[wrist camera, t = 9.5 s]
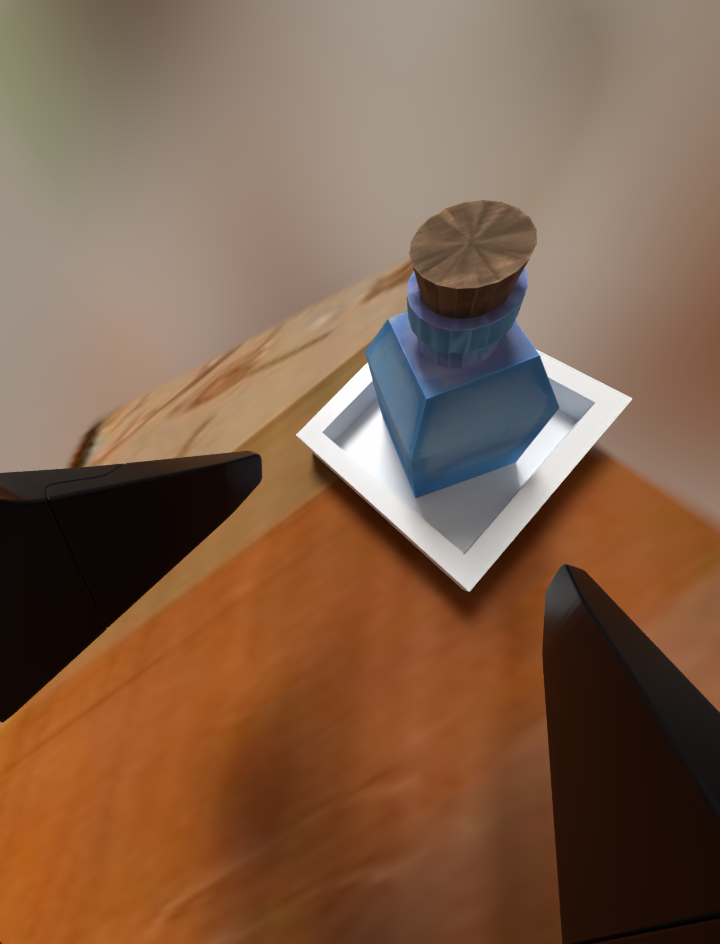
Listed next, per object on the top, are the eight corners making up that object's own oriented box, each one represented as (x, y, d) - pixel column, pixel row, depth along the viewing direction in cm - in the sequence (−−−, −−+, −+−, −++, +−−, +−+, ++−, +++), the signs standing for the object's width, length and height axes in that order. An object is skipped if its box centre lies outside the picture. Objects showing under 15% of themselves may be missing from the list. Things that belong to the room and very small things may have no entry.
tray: (601, 425, 18) (632, 398, 16) (462, 589, 17) (469, 591, 14) (431, 330, 23) (432, 296, 20) (312, 453, 22) (296, 435, 19)
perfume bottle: (415, 498, 18) (399, 377, 7) (381, 414, 20) (330, 222, 9) (515, 462, 18) (670, 269, 7) (470, 380, 20) (527, 134, 9)
